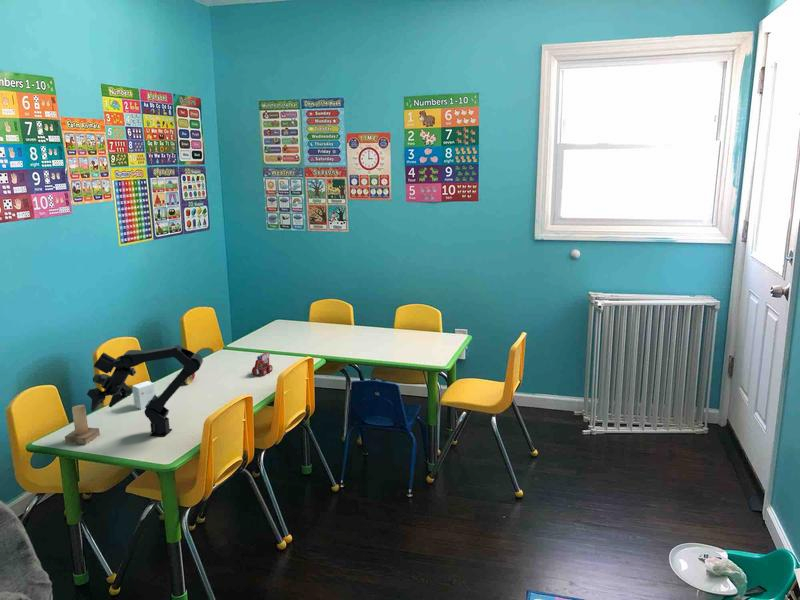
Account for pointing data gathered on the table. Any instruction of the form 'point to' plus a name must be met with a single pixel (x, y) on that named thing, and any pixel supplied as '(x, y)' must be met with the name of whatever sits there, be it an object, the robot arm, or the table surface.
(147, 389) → the small box
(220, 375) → the table surface
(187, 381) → the kendama
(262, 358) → the toy fire truck
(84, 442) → the base slab
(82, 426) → the cylinder block
